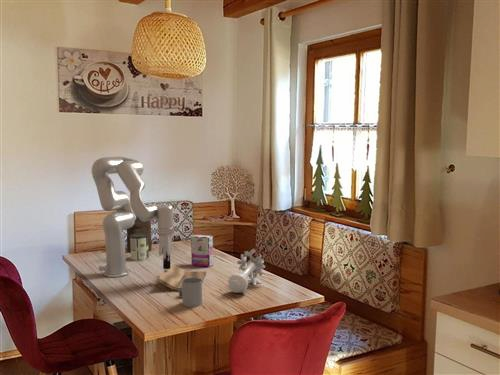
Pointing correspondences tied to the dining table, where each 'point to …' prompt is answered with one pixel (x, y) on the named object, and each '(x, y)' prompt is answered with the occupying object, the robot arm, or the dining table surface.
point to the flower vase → (246, 272)
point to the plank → (172, 276)
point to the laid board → (192, 275)
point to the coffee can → (139, 247)
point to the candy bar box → (202, 250)
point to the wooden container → (139, 228)
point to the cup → (192, 292)
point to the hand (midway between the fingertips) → (167, 268)
